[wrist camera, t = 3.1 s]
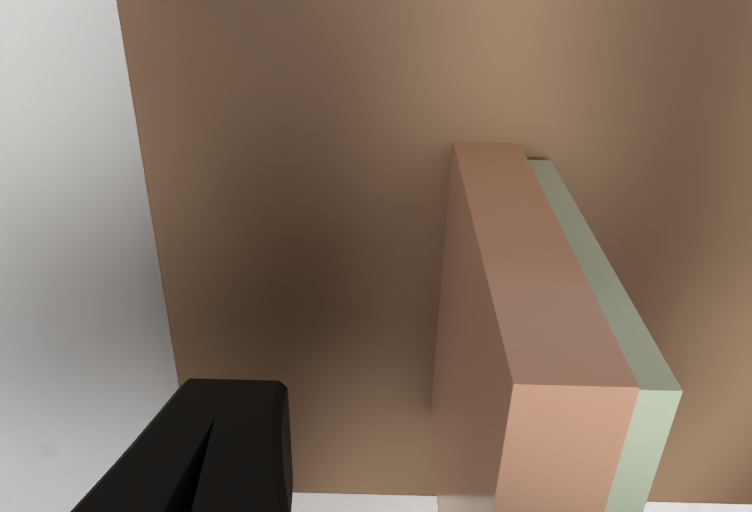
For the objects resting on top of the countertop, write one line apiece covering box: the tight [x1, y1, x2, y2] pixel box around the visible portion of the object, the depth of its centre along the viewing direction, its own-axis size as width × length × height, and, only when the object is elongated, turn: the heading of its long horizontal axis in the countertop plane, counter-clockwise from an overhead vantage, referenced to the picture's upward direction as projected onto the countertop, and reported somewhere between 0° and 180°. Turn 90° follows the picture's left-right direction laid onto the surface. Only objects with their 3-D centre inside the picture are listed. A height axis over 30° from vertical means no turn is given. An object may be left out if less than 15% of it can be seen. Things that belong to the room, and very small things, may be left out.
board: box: [116, 0, 752, 504], centre depth 13 cm, size 16×11×1 cm
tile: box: [430, 142, 683, 512], centre depth 10 cm, size 2×6×6 cm, turn 179°
